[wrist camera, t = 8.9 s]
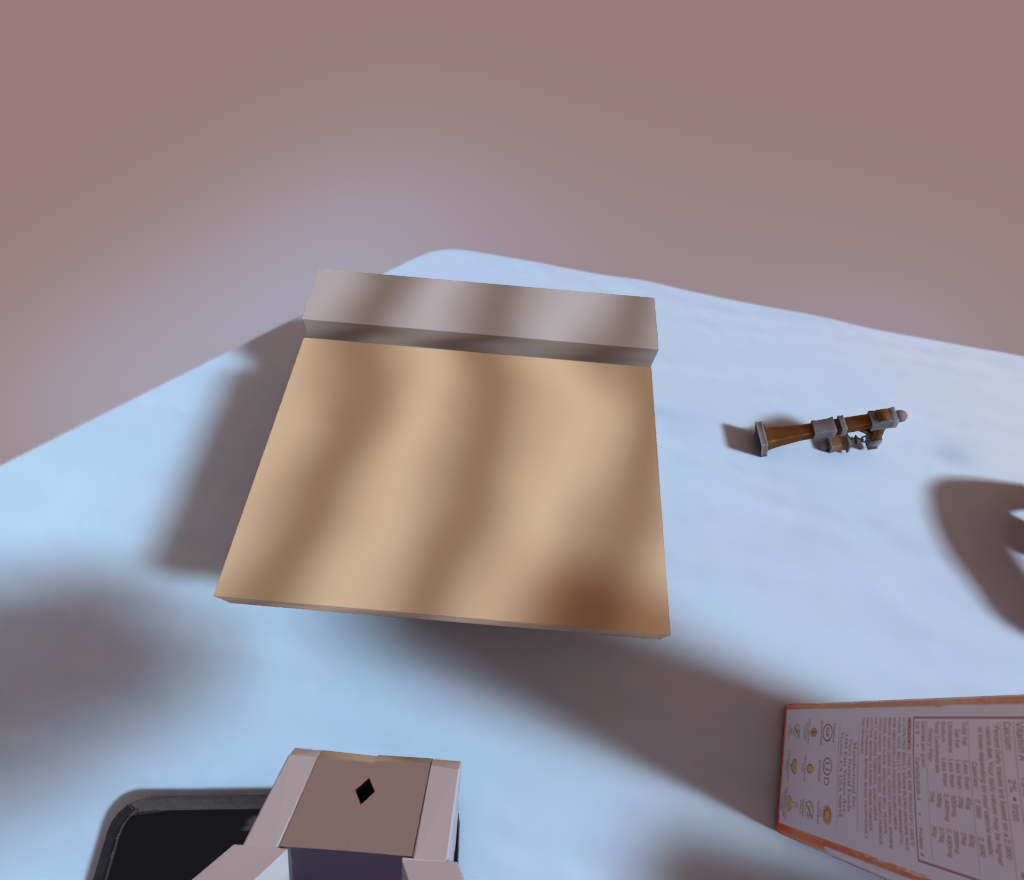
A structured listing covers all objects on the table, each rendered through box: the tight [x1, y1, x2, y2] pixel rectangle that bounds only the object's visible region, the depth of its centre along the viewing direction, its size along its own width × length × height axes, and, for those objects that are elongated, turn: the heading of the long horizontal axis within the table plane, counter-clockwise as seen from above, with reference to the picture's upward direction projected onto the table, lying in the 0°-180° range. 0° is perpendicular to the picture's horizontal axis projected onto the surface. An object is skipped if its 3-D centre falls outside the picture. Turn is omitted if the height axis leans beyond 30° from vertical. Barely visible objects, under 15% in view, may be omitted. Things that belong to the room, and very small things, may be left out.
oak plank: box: [214, 338, 670, 639], centre depth 23 cm, size 18×13×2 cm
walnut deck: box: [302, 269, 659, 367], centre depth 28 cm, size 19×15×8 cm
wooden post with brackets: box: [755, 407, 908, 457], centre depth 32 cm, size 2×8×4 cm, turn 90°
